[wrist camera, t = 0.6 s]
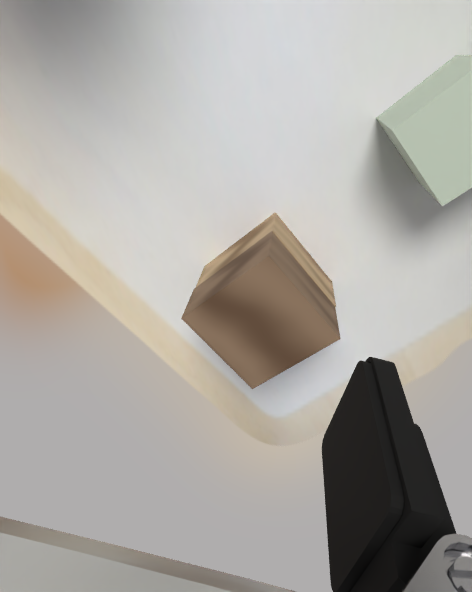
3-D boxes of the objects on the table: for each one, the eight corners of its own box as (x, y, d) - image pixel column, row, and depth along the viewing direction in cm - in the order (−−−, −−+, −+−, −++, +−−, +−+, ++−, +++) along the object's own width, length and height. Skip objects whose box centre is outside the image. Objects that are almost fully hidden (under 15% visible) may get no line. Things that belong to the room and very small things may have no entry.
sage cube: (455, 55, 28) (491, 55, 23) (497, 129, 30) (539, 144, 25) (375, 117, 31) (392, 130, 26) (419, 182, 33) (442, 206, 27)
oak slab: (275, 211, 35) (273, 230, 31) (331, 280, 38) (336, 306, 34) (205, 265, 38) (195, 288, 35) (261, 325, 41) (257, 353, 37)
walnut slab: (271, 230, 31) (269, 255, 27) (335, 306, 34) (340, 338, 30) (194, 288, 35) (181, 318, 31) (256, 353, 37) (252, 389, 33)
